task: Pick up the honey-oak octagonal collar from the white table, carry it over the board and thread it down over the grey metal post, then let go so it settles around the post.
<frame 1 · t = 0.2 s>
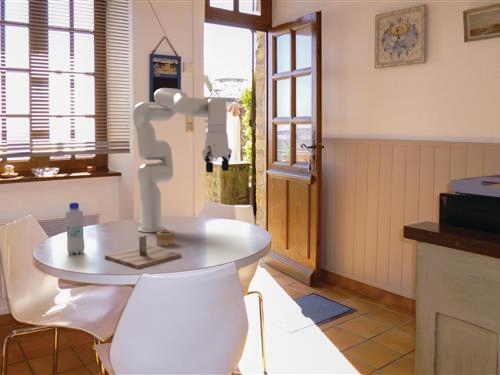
hand: (217, 171, 197), 31 cm above the table, fingers open, 9 cm apart
bottle: (76, 253, 188), on the table
collar: (165, 244, 202), on the table
post board: (143, 257, 182), on the table
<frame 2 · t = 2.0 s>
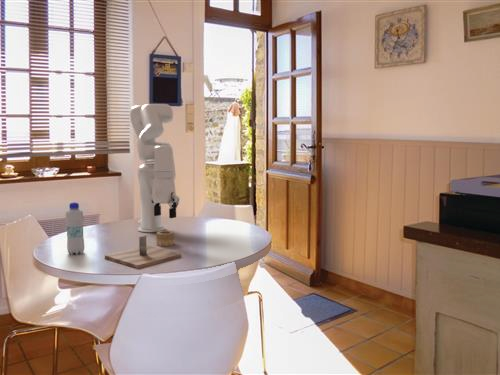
hand: (165, 216, 200), 12 cm above the table, fingers open, 9 cm apart
nothing on the table moved.
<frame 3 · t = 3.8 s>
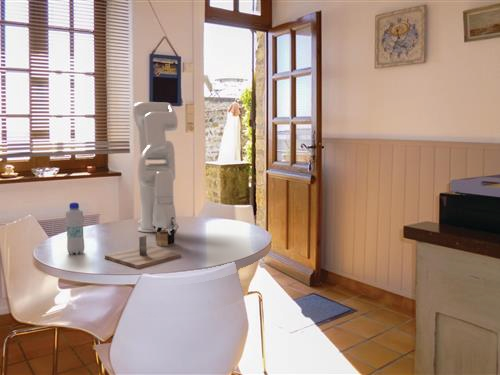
hand: (165, 241, 202), 1 cm above the table, fingers closed on collar, 6 cm apart
collar: (165, 244, 202), on the table, touching gripper
everything else where it was.
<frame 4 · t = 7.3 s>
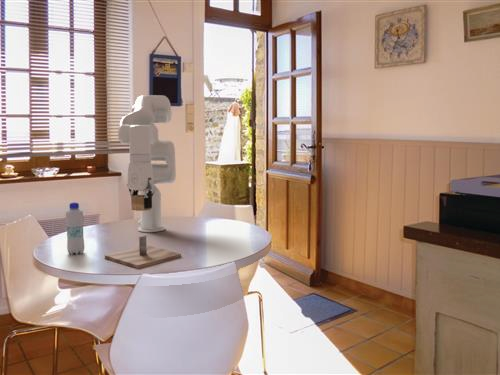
hand: (141, 206, 179), 19 cm above the table, fingers closed on collar, 6 cm apart
collar: (141, 209, 179), point 19 cm above the table, touching gripper
everything else where it was.
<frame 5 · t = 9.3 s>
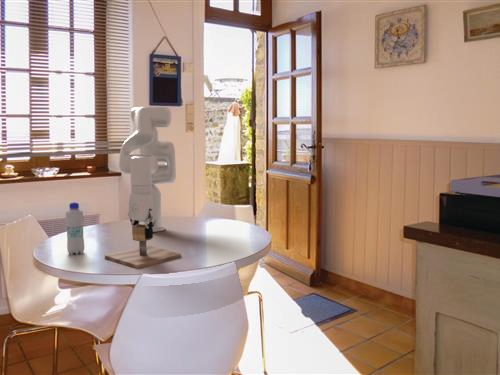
hand: (142, 236, 180), 8 cm above the table, fingers closed on collar, 6 cm apart
collar: (142, 238, 180), point 7 cm above the table, touching gripper
everything else where it was.
when the fingers open (5 cm above the table, at t = 10.8 s): collar drops 3 cm, resting on post board.
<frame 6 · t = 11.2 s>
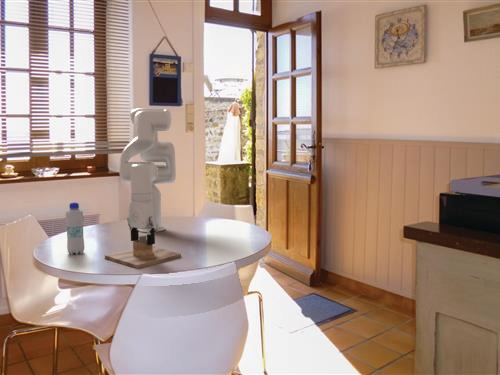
hand: (142, 242, 181), 6 cm above the table, fingers open, 9 cm apart
collar: (143, 254, 181), point 1 cm above the table, touching post board
everything else where it was.
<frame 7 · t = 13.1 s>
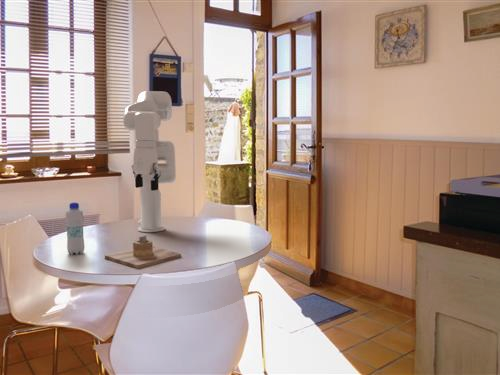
hand: (146, 188, 188), 25 cm above the table, fingers open, 9 cm apart
nothing on the table moved.
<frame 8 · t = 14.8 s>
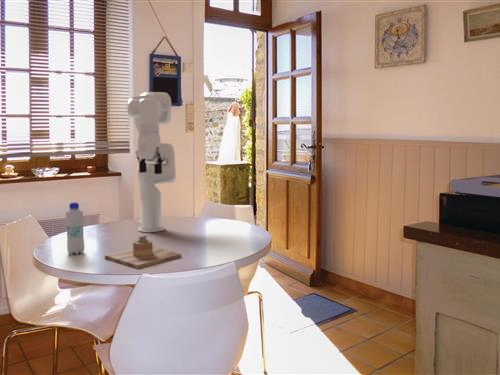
hand: (150, 173, 195), 30 cm above the table, fingers open, 9 cm apart
nothing on the table moved.
at the end: collar 0.0 cm off-centre on the post board, point 1.2 cm above the post board's base; collar tilted 0°; the gripper is holding nothing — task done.
